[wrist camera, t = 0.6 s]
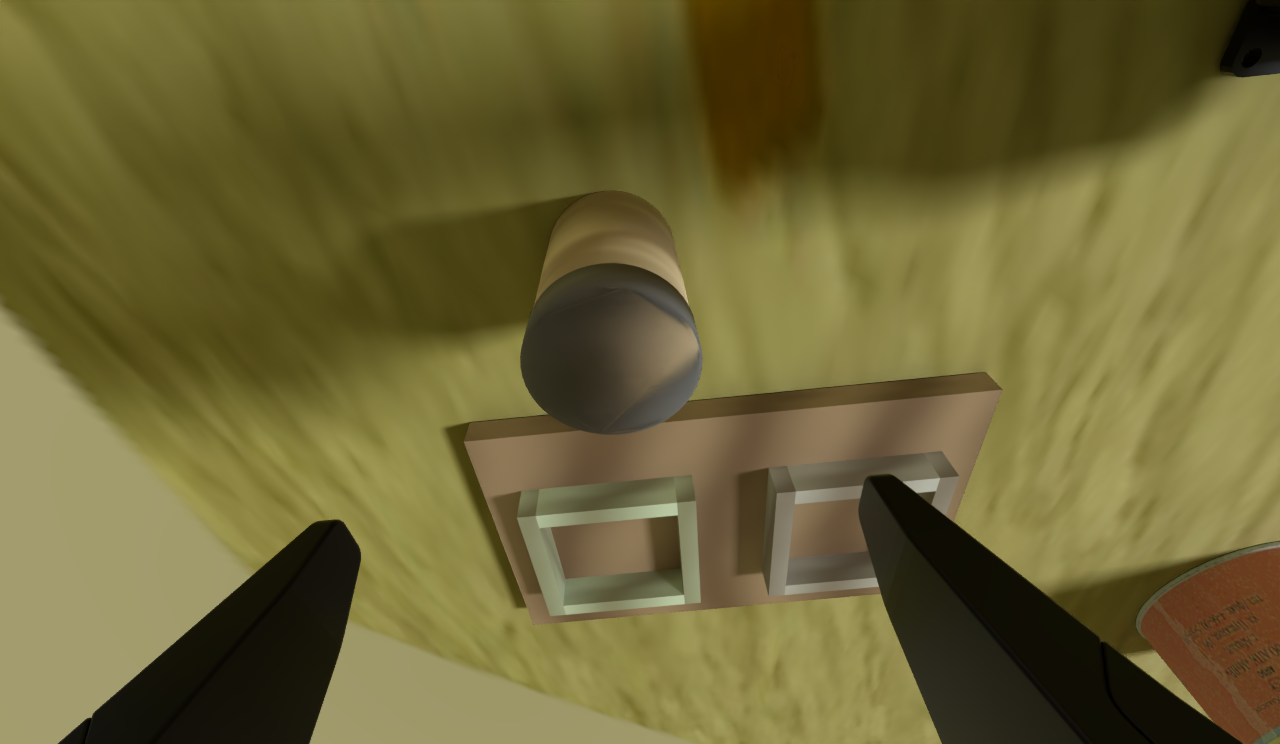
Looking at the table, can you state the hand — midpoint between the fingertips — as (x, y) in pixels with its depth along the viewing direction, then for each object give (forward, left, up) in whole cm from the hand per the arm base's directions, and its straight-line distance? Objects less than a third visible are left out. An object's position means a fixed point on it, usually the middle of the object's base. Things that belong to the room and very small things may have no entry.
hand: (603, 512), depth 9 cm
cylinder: (0, 0, -12) cm, 12 cm away
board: (-4, +14, -12) cm, 19 cm away
